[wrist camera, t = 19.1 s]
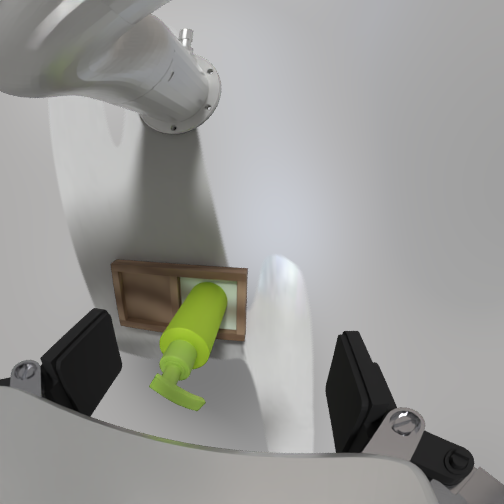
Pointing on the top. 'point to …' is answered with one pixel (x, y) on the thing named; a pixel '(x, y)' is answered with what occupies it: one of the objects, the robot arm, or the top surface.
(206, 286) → the soap dispenser
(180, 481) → the robot arm
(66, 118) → the top surface
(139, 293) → the wooden divided tray
